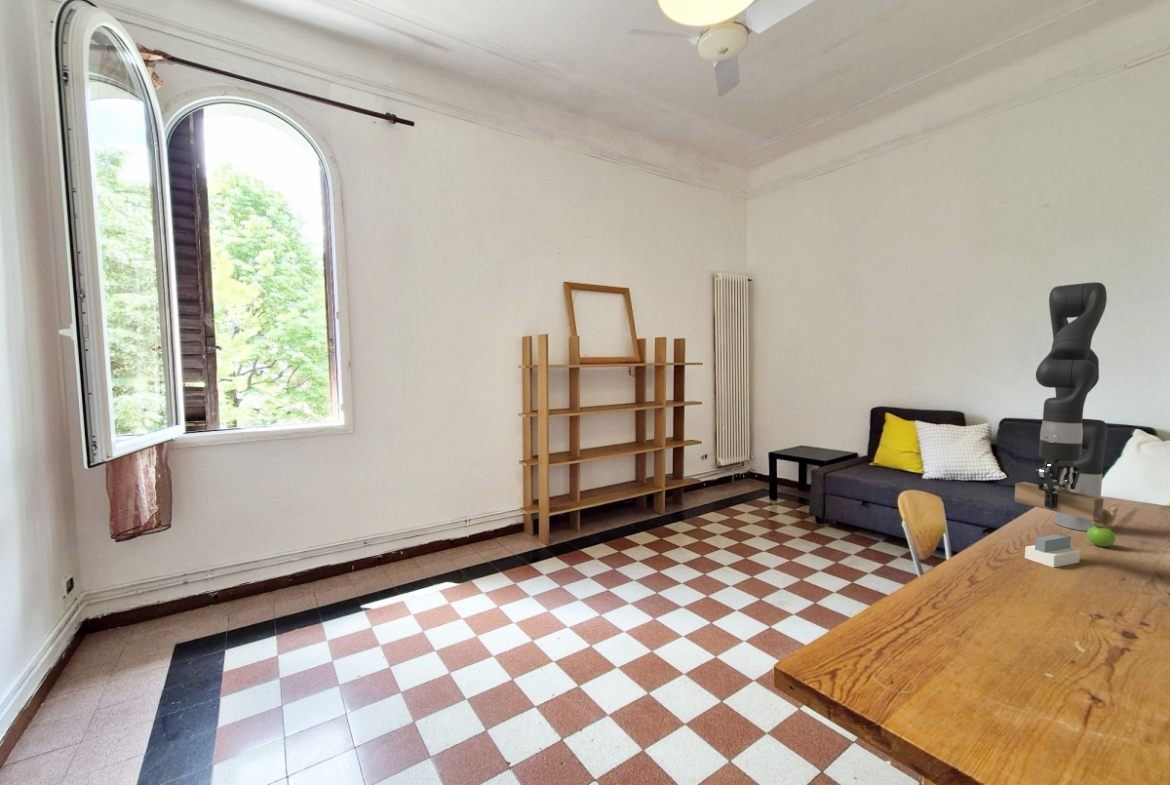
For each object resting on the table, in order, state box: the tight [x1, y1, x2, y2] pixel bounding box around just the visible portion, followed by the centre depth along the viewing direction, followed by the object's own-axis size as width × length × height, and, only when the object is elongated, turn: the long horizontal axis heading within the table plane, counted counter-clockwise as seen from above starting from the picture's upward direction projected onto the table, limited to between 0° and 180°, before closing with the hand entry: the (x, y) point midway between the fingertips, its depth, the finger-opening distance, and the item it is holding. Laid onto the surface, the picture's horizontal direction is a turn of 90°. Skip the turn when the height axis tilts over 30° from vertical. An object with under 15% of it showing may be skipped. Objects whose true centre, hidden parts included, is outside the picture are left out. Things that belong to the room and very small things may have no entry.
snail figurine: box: [1086, 502, 1120, 548], centre depth 132 cm, size 5×6×12 cm
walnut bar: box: [1014, 481, 1105, 521], centre depth 121 cm, size 4×16×5 cm, turn 18°
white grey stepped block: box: [1024, 533, 1081, 568], centre depth 122 cm, size 10×6×6 cm, turn 108°
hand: (1055, 506), depth 121 cm, fingers closed on walnut bar, 3 cm apart
